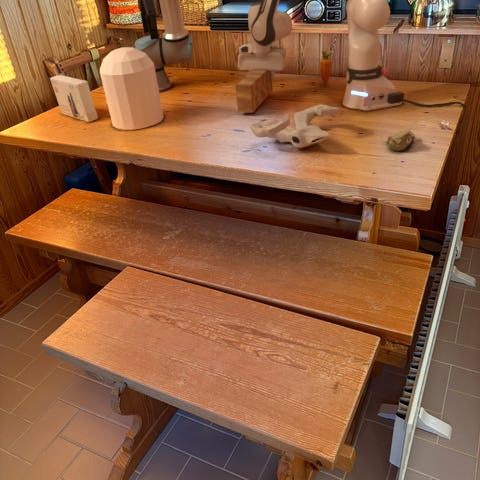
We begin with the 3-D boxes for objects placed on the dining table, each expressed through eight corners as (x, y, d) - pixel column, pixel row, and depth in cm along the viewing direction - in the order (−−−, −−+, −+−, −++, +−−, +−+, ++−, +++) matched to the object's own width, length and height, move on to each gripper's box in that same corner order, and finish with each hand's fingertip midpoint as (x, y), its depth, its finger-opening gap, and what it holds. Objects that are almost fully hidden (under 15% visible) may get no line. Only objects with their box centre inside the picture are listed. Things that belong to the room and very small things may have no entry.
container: (119, 134, 177) (100, 57, 161) (107, 118, 193) (89, 47, 177) (170, 121, 183) (157, 47, 167) (155, 107, 199) (142, 38, 184)
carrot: (331, 83, 206) (332, 48, 198) (329, 87, 202) (330, 51, 194) (320, 83, 208) (321, 48, 199) (318, 87, 204) (319, 51, 195)
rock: (408, 140, 153) (379, 139, 152) (414, 122, 149) (384, 120, 148) (421, 154, 144) (391, 153, 143) (428, 135, 140) (396, 133, 139)
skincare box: (60, 114, 202) (49, 77, 193) (71, 110, 206) (60, 74, 196) (87, 122, 190) (77, 83, 181) (98, 118, 194) (88, 80, 184)
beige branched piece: (248, 155, 150) (245, 120, 144) (261, 127, 172) (259, 95, 165) (336, 156, 144) (338, 119, 138) (338, 126, 166) (340, 93, 159)
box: (252, 112, 180) (250, 85, 174) (237, 112, 182) (235, 85, 176) (272, 91, 201) (271, 65, 195) (259, 90, 203) (257, 65, 197)
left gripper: (157, -37, 136) (169, 40, 148) (143, -40, 156) (155, 28, 168) (132, -34, 135) (146, 43, 147) (121, -37, 154) (135, 31, 167)
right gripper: (287, 44, 187) (288, 79, 195) (240, 44, 194) (243, 78, 202) (283, 48, 182) (284, 83, 190) (235, 48, 189) (238, 82, 197)
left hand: (151, 35), depth 158 cm, fingers open, 13 cm apart
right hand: (262, 80), depth 196 cm, fingers closed on box, 6 cm apart
